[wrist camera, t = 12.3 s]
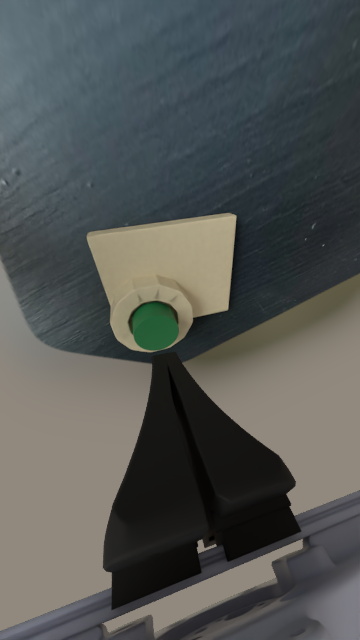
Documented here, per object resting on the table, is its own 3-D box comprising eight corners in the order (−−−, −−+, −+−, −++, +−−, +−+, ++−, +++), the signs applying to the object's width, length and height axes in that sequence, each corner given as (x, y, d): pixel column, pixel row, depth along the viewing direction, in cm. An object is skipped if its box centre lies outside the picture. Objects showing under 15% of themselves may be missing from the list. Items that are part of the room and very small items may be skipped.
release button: (136, 339, 16) (138, 355, 15) (127, 306, 14) (128, 321, 13) (175, 331, 16) (180, 345, 15) (171, 298, 14) (177, 311, 13)
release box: (122, 335, 19) (123, 359, 16) (87, 231, 13) (80, 245, 11) (222, 314, 20) (236, 332, 18) (229, 212, 14) (251, 220, 12)
